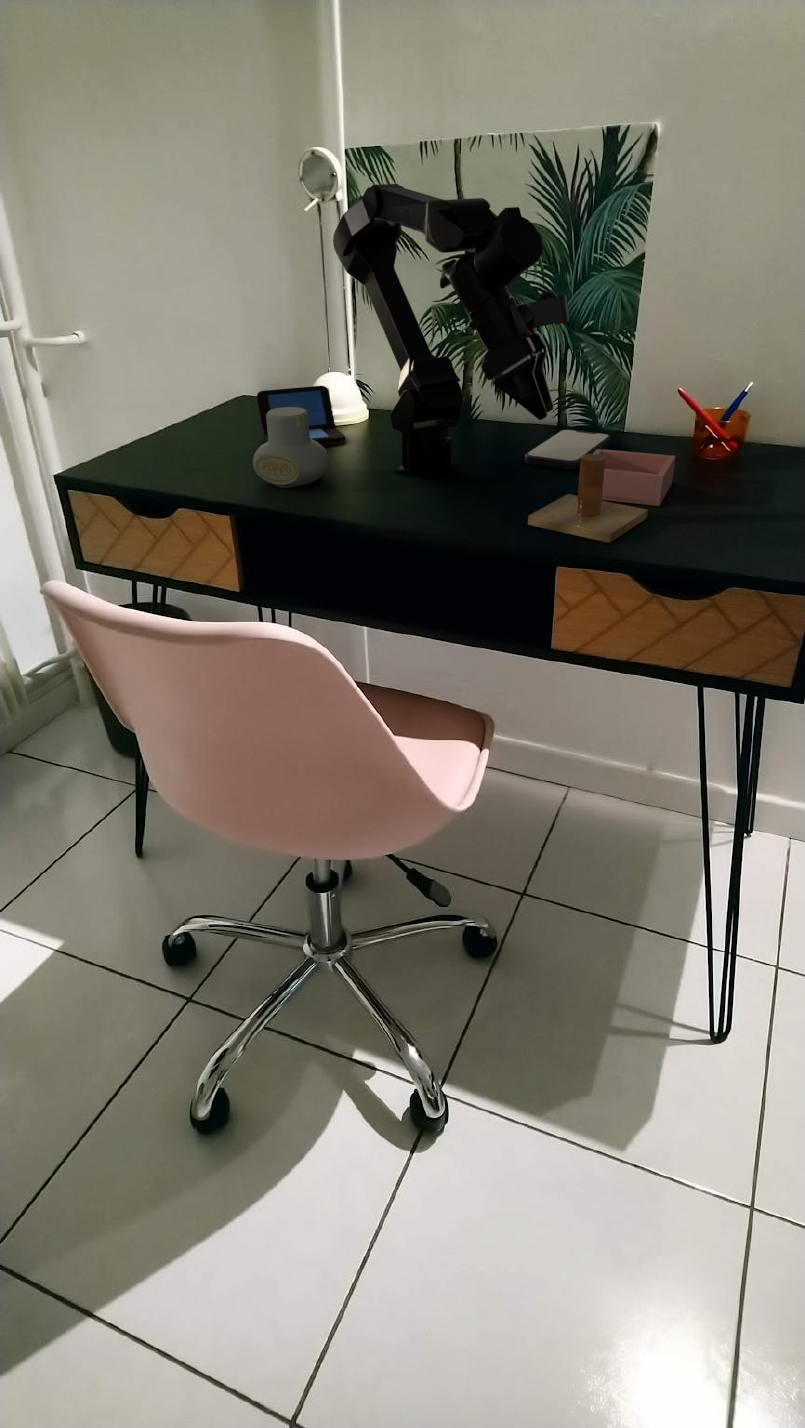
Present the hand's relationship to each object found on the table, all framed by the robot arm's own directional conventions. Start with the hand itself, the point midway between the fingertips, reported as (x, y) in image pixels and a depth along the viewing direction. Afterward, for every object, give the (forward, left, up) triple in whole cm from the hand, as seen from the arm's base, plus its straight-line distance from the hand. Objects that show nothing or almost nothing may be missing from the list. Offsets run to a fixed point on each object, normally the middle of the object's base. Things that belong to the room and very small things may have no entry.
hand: (547, 414), depth 115 cm
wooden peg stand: (+8, -7, -11) cm, 15 cm away
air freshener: (-36, -5, -11) cm, 38 cm away
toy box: (+10, +7, -11) cm, 17 cm away
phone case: (-2, +22, -11) cm, 25 cm away
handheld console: (-46, +16, -11) cm, 50 cm away
